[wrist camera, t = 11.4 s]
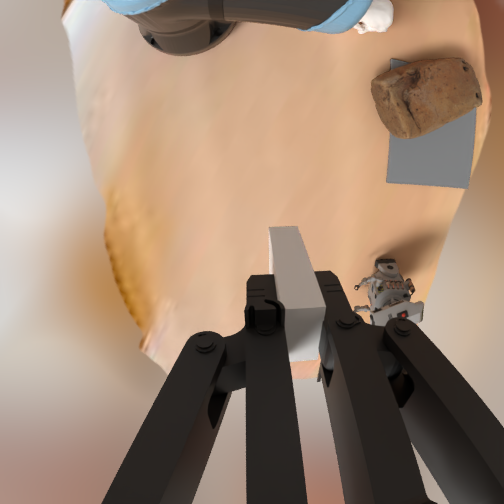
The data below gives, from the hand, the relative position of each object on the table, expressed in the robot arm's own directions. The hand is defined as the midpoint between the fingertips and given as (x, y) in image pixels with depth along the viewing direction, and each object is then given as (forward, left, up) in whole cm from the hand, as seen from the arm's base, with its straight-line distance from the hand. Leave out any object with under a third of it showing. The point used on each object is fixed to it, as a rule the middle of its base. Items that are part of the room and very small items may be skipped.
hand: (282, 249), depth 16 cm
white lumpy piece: (-24, +14, -33) cm, 43 cm away
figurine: (+25, +22, -33) cm, 47 cm away
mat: (-6, +32, -32) cm, 46 cm away
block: (-7, +19, -28) cm, 34 cm away
